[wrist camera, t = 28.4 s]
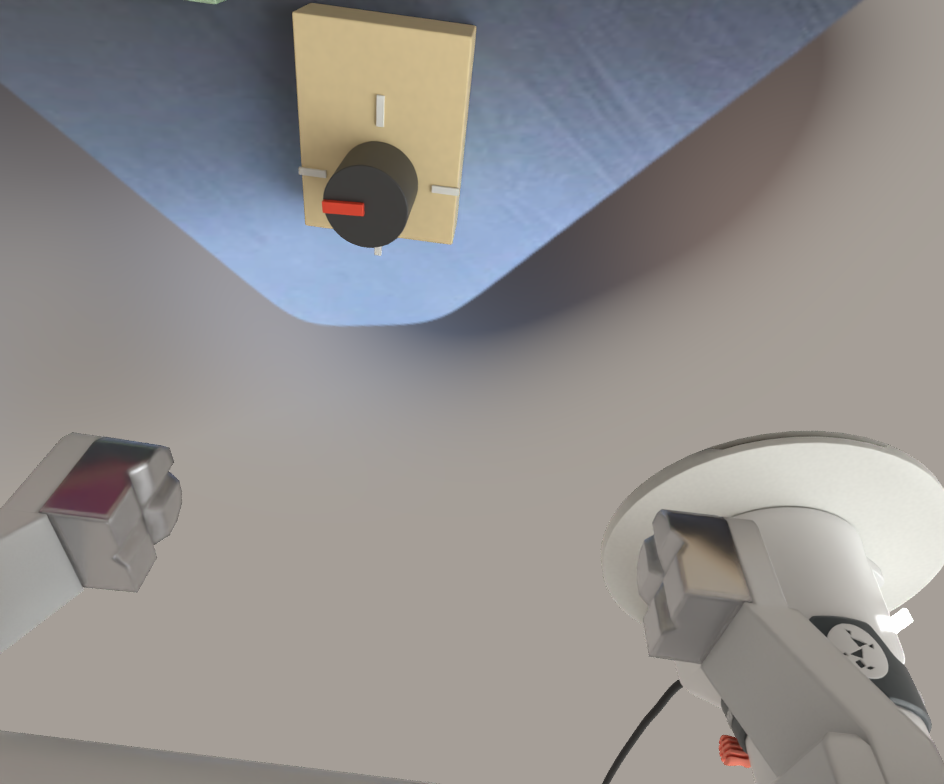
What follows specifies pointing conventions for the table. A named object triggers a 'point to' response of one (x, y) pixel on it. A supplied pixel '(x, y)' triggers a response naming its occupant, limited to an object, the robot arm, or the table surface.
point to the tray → (208, 1)
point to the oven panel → (384, 104)
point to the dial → (371, 194)
